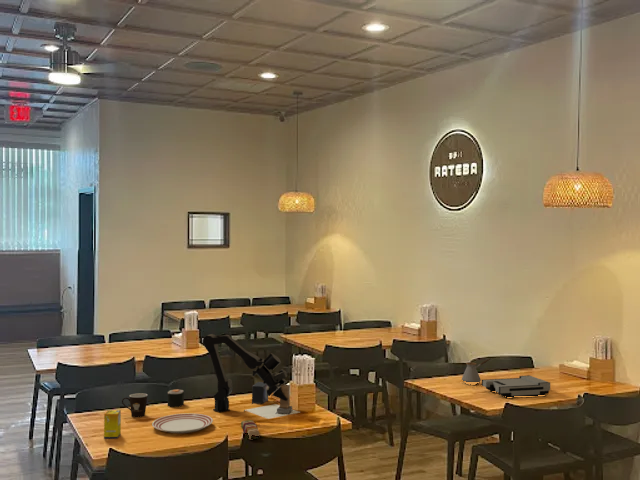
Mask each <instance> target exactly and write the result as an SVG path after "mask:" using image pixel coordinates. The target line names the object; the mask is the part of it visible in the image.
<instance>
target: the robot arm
mask: <svg viewBox="0 0 640 480" xmlns="http://www.w3.org/2000/svg"><path fill="white" fill-rule="evenodd" d="M202 344H203V347H204V348H205V350H207V351H206V352H208V353H209V356H210V360H211V362H212V366H213V370H214V373H215V375H216V380H217V392H216V393H215V394H214V395H213V399H214V408H212V411H215V412H217V413H224V412H229V411H230V410H231V409H230V400H229V396H230V394H231V393H232V392H233V391H234V390H233V387H234V384H233V381H232V379H231V378H229V379H228V377H227V376H226V371H225V369H224V366H223V362H222V360H221V359H222V358H221V356H220V352H219V345H220V344H225V346H227V347H228V348H229V349H230V350H232V351H233V352H234V353H235V354H236V355H238V357H240V358H241V360H242V361H243V363H244V364H245V365H246V366H247V367H248V368H249V369H251V370H252V376H253V377H254V376H256V375H257V376H258V377H259V378H260V379H261V380H262V382H263V383H264V384H265V383H266V385H267V386H268V390H267V395H268V397H270V396H272V397H276V398H277V399H279V400H280V399H282V400H285V401H287V398H286V396H285V395H284V393H283V392H282V390H281V387H280V386H281V385H286V381H287V380H286V378H287V377H288V374H287V373H288V372H287V371H286V370H284V369H283V368H282V369H280V370H279V371H278V372H279V373H274V372H273V373H272V372H271V371H274V370H275V368H277V367H278V365H280V364H281V363H282V362H281V359H280V358H279V356H278V355H275V354H274V353H273V352H271V353H269V355H268V356H267V357H266V358H261V357H260V356H258V355H256V354H254V353H252V352H250V351H248V350H246V349H245V348H244V347H243V346H242V345H241V344H239V342H238V341H236V340H235V339H234V338H233V337H231V335H229V334H216V335H215V334H213V333H211V334H207V335H205V336H204V337H203V339H202Z"/></svg>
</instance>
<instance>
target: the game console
mask: <svg viewBox="0 0 640 480" xmlns="http://www.w3.org/2000/svg"><path fill="white" fill-rule="evenodd" d="M481 386H482V387H485V389H486V390H489V392H491V391H496V392H498V393H497V394H498V395H500V396H501V397H503V396H506V397H514V396H538V395H546V396H547V395H549V393H550V391H551V381H550V382H549V381H547V380H544V379H541V378H537V377H535V376H532V375H529V374H528V375H519V377H514V378H513V377H511V378H510V377H509V378H507V377H506V378H494V379H493V378H492V379H491V378H490V379H487V378H486V379H481Z"/></svg>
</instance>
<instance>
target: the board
mask: <svg viewBox="0 0 640 480" xmlns="http://www.w3.org/2000/svg"><path fill="white" fill-rule="evenodd" d="M279 407H280V404H276V403H275V404H271V405H270V404H269V405H264V406H258V407H257V406H256V407H252V408H247V409H244V410H243V412H245V411H246V412H248V413H251V414H253V415H256V416H259V417H262V418H263V419H267V420H269V419H274V418H275V419H276V418H280V417H284V416H289V415H294V414H298V413H299V414H300V413H301V411H299V410H298V411H297V410H295V409H292V411H291V412H290V413H289V414H286V413H277V408H279Z"/></svg>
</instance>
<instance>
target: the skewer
mask: <svg viewBox="0 0 640 480" xmlns="http://www.w3.org/2000/svg"><path fill="white" fill-rule="evenodd" d="M240 427H241V429H242V431H243V434H245V433H248V435H249V438H248V439H249V440H252V439H251V436H252V435H255V436H259V437H260V431H259V427H258V425H257V423H255V422H254V420H251V419H249V420H242V421H241V422H240Z"/></svg>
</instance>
